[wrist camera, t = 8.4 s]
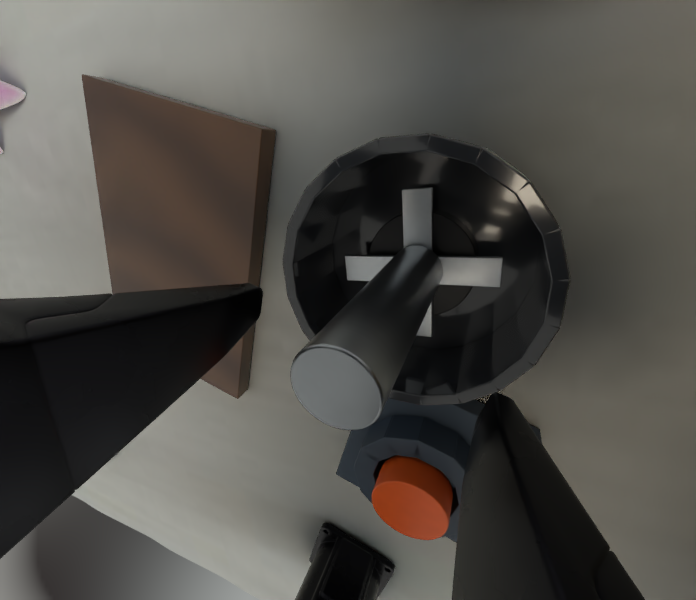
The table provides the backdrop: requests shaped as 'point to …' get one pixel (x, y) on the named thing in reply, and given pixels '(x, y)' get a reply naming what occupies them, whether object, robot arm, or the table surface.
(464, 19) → the table surface
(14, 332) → the robot arm
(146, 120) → the cutting board
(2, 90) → the lily
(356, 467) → the button block
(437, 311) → the blade
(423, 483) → the button
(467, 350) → the dark fan housing
